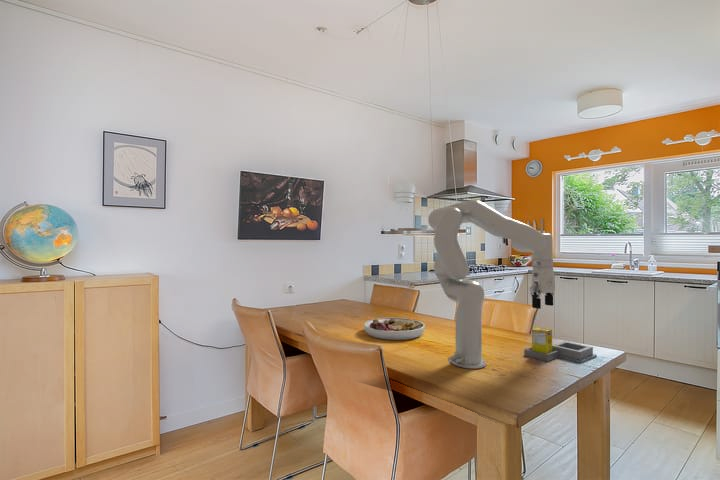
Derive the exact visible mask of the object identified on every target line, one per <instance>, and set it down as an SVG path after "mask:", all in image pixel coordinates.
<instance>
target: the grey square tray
mask: <svg viewBox="0 0 720 480" xmlns="http://www.w3.org/2000/svg"><path fill="white" fill-rule="evenodd" d="M523 354H524V356H525V357H529V358H533V359H537V360H541V361H544V362H550V361H553V360H556V359H558V358H559V355H560V351H559V350H555V349H552V352H551V353H548V354H545V353H541V352H537V351H533V350H532V346H530V347H527V348H524V349H523Z"/></svg>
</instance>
